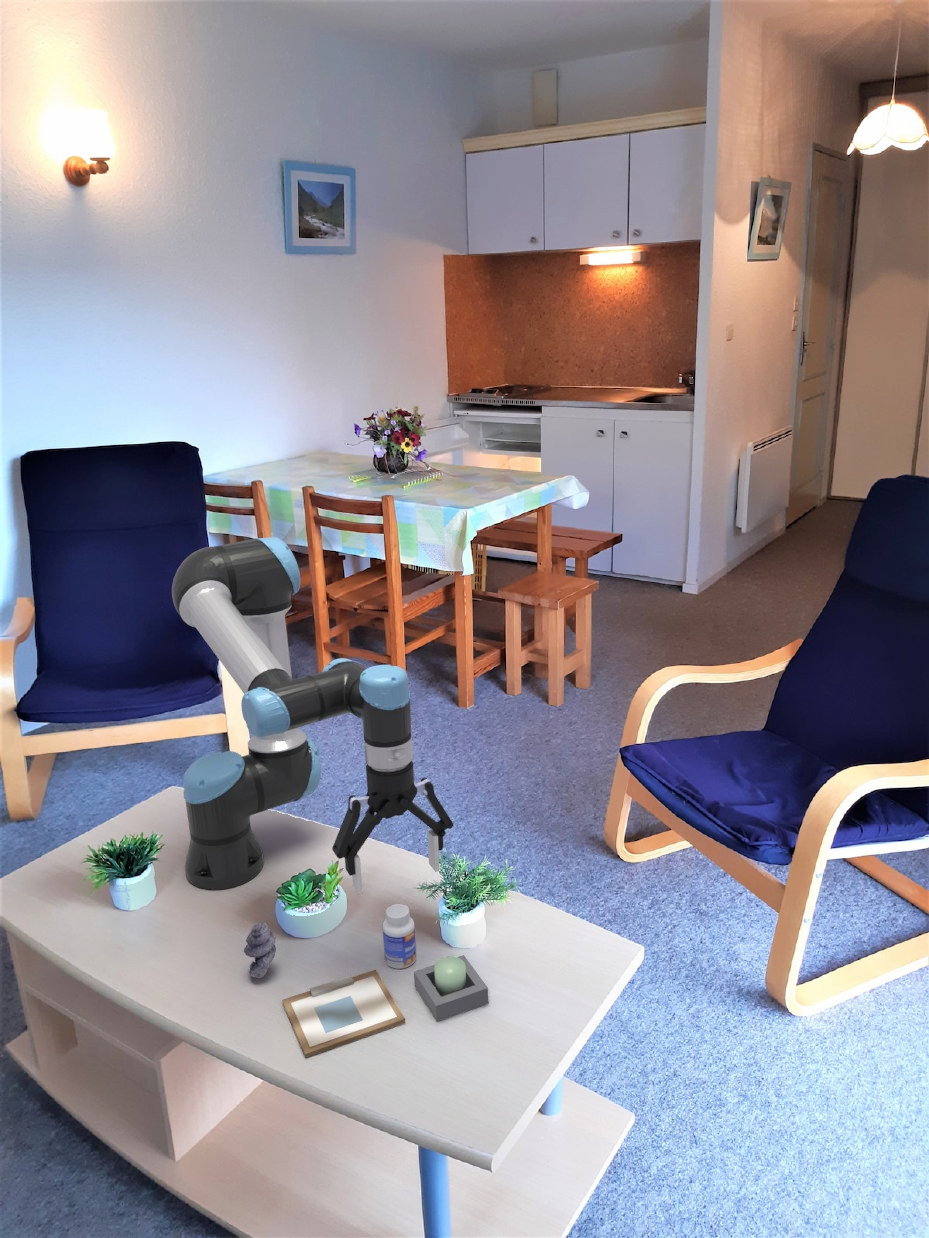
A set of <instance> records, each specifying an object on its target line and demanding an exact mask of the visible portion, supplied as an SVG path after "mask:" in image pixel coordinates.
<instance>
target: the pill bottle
mask: <svg viewBox="0 0 929 1238" xmlns="http://www.w3.org/2000/svg"><path fill="white" fill-rule="evenodd" d="M382 936H383V937H382V939H383V948H384V949H383V951H384V953H383V955H384V960H385V963H386V964H387V966H389V967H391V968H393V969H396V970H397V969H399V970H401V969H402V970H403V969H406V968H408V967H410V966H412V965H413V964H414V963H415V962H416V961H417V960H416V959H417V945H416V929H415V920H414V919H413V918H412V917H411V913H410V908H409V907H408V906H407V905H406V904H402V903H394V904H392V905H390V906H388V907H387V908H386V910H385V919H384V920H383V923H382Z"/></svg>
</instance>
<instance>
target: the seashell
mask: <svg viewBox="0 0 929 1238" xmlns="http://www.w3.org/2000/svg"><path fill="white" fill-rule="evenodd" d="M276 941H277V940H276V937H275V934H274V933H273V931H272V930H270V927H269V925H268V924H267V922H262V923H260V922H258V923H256V924H254V925H253V926H252V927H251V931H250V932H249V933H248V934H247V936H246V940H245V942H246V944H247V945H245V946H244V949H243V952H244V954H245V956H247V957H248V958H253V959H254V960H253V961H251V962H250V963H249V971H248V975H250V976H252V978H255V979H259V980H260V979H262V978H263V977H264V976H265V975H266V974H267V972H268V970H269V969H270V967H271V964H272V963H273V961H274V958H275V956H276V951H277V947H276V945H275V943H276Z"/></svg>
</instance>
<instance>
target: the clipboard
mask: <svg viewBox="0 0 929 1238" xmlns="http://www.w3.org/2000/svg"><path fill="white" fill-rule="evenodd" d="M282 1006H283V1008H284V1010H285V1013H286V1015H287V1018H288V1020H289V1021H290V1025H291V1027H292V1030H293V1032H294V1034H295V1036H296V1039H297V1041H298V1043H299V1046H300V1049H301V1051H302V1053H303V1056H304V1058H305V1059H307V1058H310V1057H313V1056H316V1055H318V1054H319V1055H320V1054H321V1053H325V1052H327V1051H331V1050H333V1049H336V1048H338V1047H342V1046H345V1045H347V1044H350V1043H353V1042H356V1041H358V1040H359V1041H360V1040H361V1039H364V1038H367V1037H370V1036H373V1035H376V1034H378V1033H380V1032H384V1031H386V1030H390V1029H393V1028H395V1027H398V1026H401V1025H404V1024H406V1019H405V1016H404V1015H403V1013H402V1012H401V1010H400V1008H399V1006H398V1004H397V1003H396V1001H395V999H394V998H393V995H392V994H391V993H390V991H389V989H388V988H387V986H386V984H385V982H384V981H383V979H382V977H381V975H380V974H379V972H378V971H377V969H373V970H370V971H367V972H364V973H360V974H357V975H354V976H352V975H351V974H350V975H348V976H345V977H342V978H338V979H335V980H333V981H329V982H327V983H323V984H320V985H316V986H313V987H311V988H309V990H308V991H305V992H302V993H298V994H295V995H293V996H290V997H286V998H284V999H282Z"/></svg>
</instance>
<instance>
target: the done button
mask: <svg viewBox="0 0 929 1238" xmlns="http://www.w3.org/2000/svg"><path fill="white" fill-rule="evenodd" d="M458 957H459V956H444V957H441V958H440V959H438V960H437V961H436V962H435V964H434V965H435V966H434V970H435V989H436V990H437V992H438V993H439V995H440V996H441V997H443V996H445V995H448V994H451V993H454V992H457V991H460V990H463V989H466V988H467V987H466V965H465V963H464V961H463V960H462V959H460V958H458Z"/></svg>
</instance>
